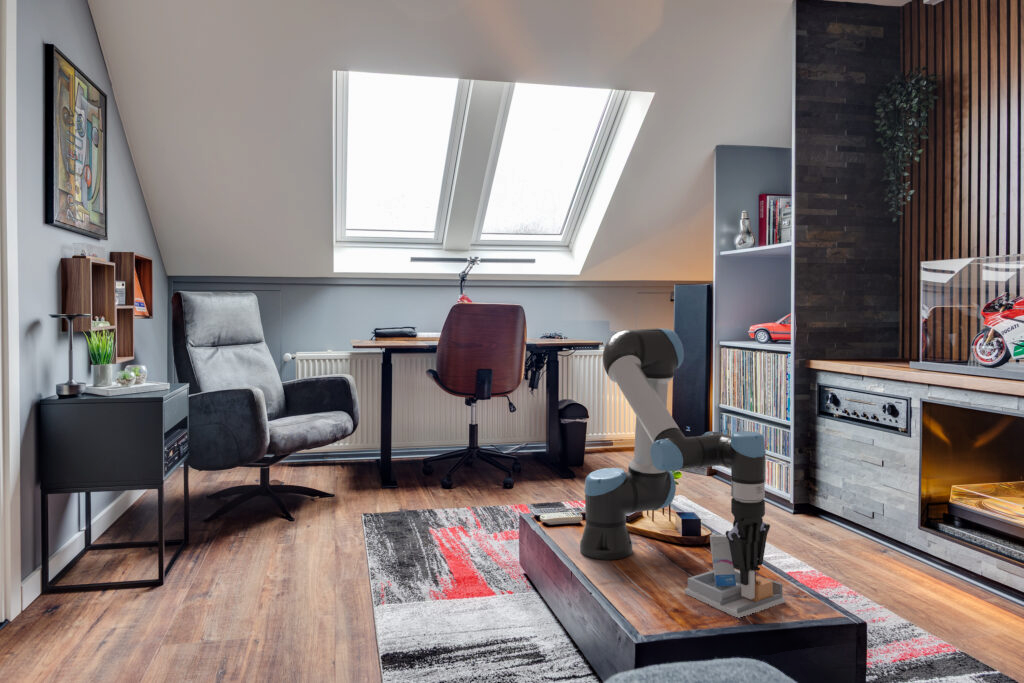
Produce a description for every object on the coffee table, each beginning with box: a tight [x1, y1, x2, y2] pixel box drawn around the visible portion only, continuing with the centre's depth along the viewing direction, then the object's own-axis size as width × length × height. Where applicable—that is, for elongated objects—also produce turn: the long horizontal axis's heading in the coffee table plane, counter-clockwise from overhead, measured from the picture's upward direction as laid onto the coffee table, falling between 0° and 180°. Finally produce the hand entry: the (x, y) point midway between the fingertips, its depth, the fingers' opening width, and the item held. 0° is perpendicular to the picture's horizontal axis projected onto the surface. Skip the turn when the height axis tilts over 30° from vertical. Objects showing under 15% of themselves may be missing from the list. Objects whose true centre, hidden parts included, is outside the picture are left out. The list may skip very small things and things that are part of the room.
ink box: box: [709, 534, 736, 587], centre depth 179 cm, size 9×5×12 cm, turn 166°
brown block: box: [751, 575, 773, 602], centre depth 172 cm, size 4×5×5 cm
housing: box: [684, 568, 786, 619], centre depth 175 cm, size 17×16×4 cm
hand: (748, 596), depth 170 cm, fingers closed
